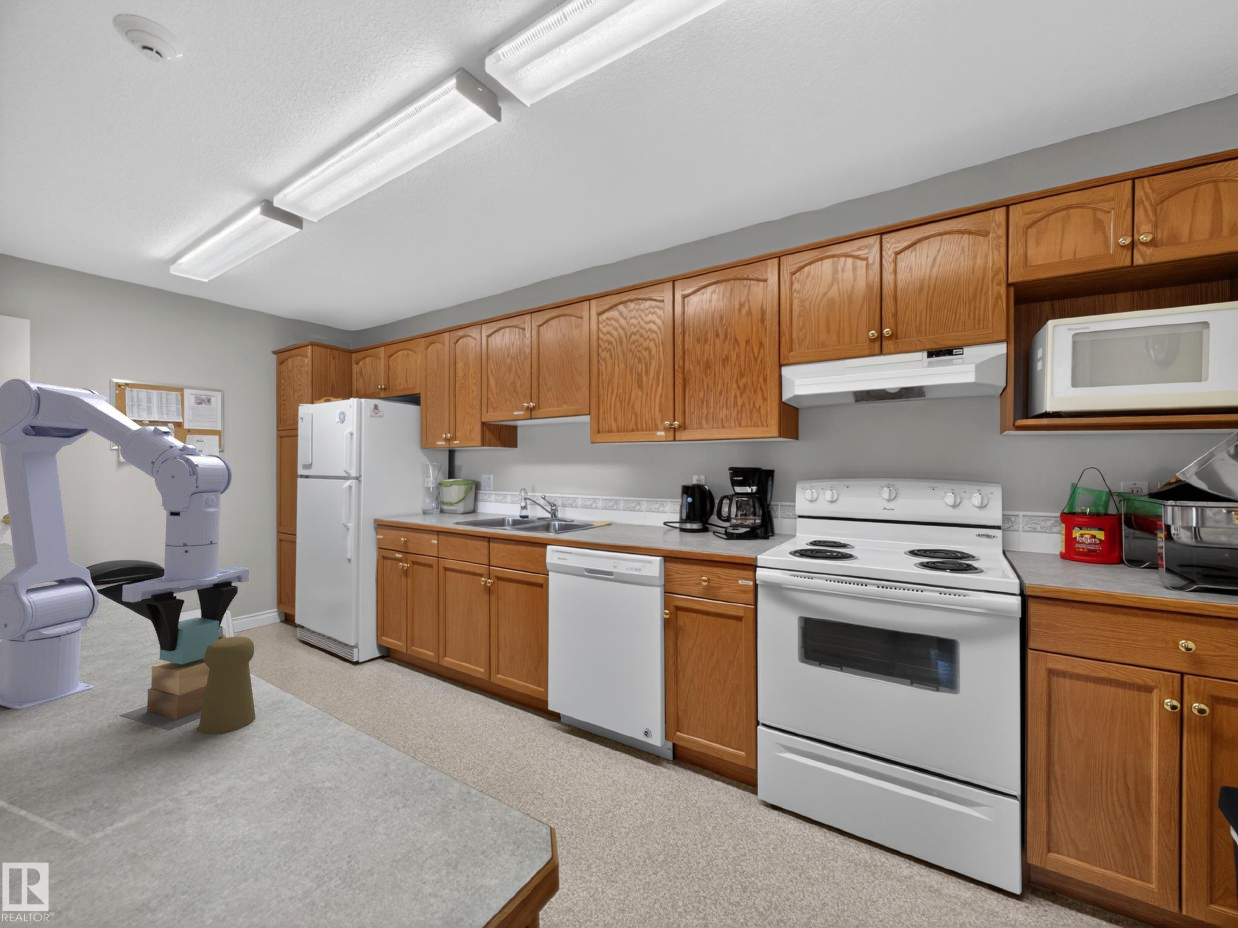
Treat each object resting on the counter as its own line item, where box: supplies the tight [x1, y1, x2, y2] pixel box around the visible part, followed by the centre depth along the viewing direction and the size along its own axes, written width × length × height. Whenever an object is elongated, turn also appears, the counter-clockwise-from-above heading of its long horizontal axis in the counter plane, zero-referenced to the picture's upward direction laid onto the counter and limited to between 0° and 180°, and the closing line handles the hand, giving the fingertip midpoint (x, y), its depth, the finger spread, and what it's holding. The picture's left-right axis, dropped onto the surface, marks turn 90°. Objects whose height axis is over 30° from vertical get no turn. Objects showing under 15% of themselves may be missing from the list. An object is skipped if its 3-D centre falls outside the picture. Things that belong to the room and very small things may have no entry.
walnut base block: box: [146, 686, 206, 720], centre depth 73 cm, size 6×6×3 cm
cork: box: [197, 636, 256, 735], centre depth 69 cm, size 6×6×11 cm
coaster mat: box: [119, 705, 202, 731], centre depth 73 cm, size 10×10×1 cm
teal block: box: [159, 616, 220, 664], centre depth 73 cm, size 4×4×4 cm
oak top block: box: [150, 658, 210, 695], centre depth 73 cm, size 6×6×3 cm
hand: (189, 644), depth 73 cm, fingers closed on teal block, 4 cm apart
